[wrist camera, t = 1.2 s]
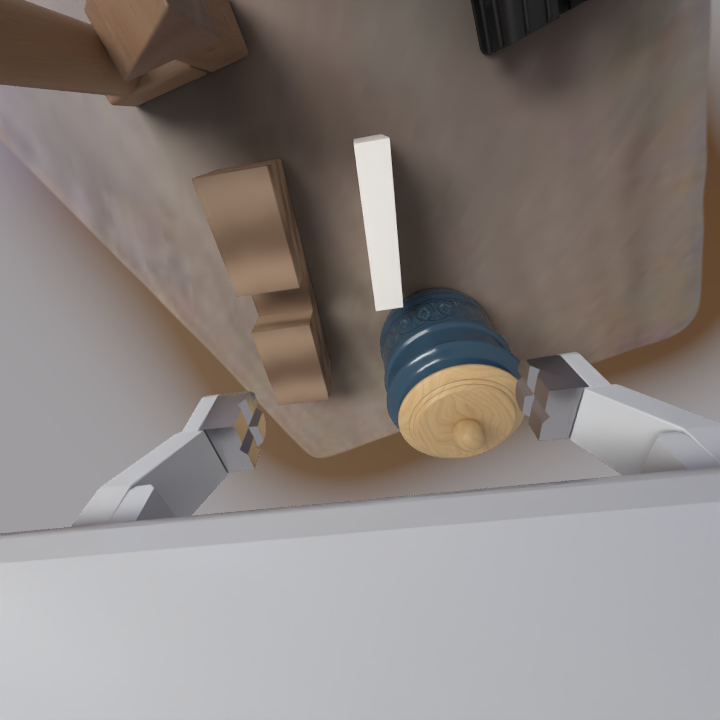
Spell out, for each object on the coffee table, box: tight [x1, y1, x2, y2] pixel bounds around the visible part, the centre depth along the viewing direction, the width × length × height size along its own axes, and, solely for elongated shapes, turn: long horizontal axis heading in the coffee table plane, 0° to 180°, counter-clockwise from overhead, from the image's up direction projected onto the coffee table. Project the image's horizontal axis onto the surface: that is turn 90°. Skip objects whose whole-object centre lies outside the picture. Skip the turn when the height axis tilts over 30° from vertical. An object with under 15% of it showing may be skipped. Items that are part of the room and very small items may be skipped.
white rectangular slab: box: [354, 134, 403, 311], centre depth 30 cm, size 13×2×8 cm, turn 8°
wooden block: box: [0, 0, 248, 107], centre depth 19 cm, size 4×11×18 cm, turn 108°
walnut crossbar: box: [192, 159, 332, 405], centre depth 35 cm, size 24×6×6 cm, turn 8°
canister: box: [380, 288, 525, 458], centre depth 35 cm, size 13×13×18 cm
